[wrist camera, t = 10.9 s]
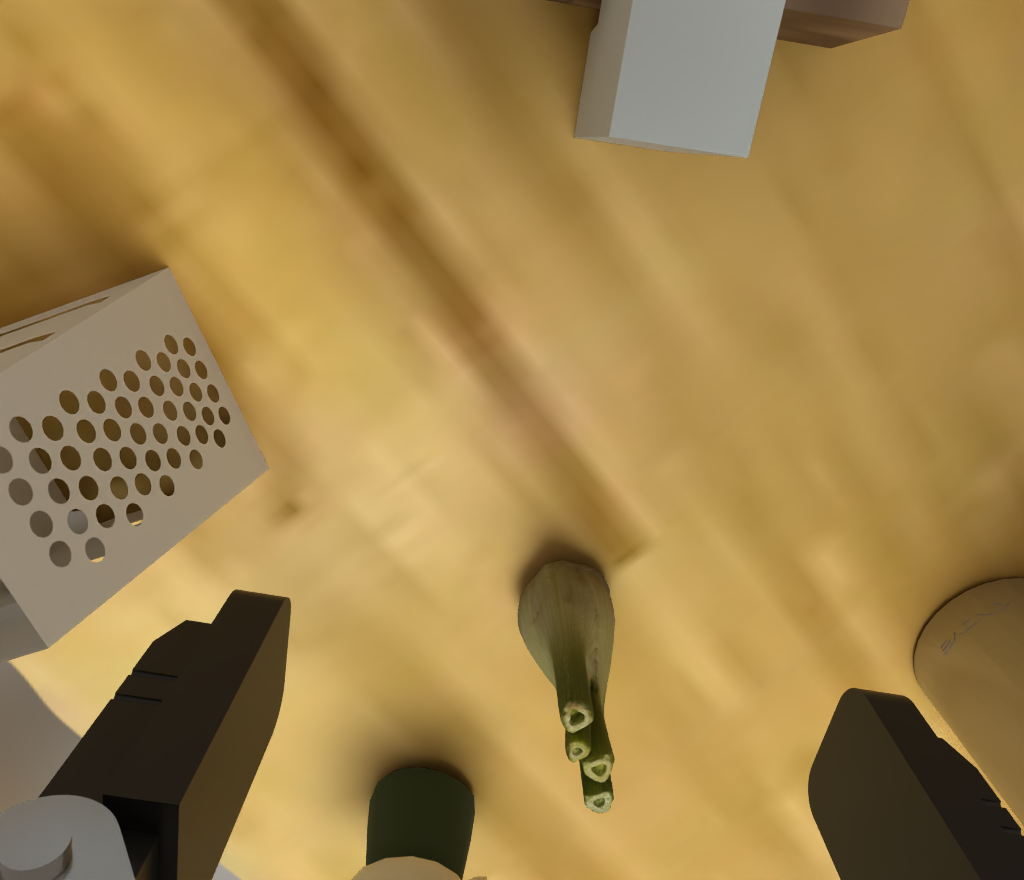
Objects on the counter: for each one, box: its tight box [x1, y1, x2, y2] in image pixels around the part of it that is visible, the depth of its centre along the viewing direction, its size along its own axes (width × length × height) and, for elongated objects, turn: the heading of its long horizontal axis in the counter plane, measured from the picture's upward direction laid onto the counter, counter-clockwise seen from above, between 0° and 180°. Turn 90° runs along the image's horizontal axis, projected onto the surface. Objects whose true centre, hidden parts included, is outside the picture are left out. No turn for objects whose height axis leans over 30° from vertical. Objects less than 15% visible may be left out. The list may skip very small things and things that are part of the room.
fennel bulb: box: [518, 560, 615, 813], centre depth 35 cm, size 6×5×12 cm
